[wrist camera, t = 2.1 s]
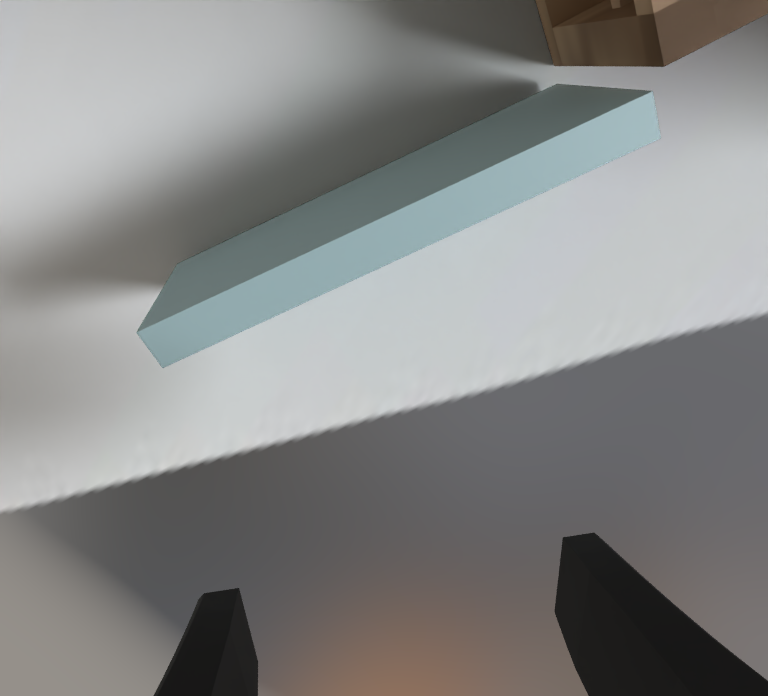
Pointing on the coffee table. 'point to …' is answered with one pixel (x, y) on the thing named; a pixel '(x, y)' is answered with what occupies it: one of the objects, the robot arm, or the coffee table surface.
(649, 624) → the robot arm
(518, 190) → the door
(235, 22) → the coffee table surface
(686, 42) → the wooden paneled box
